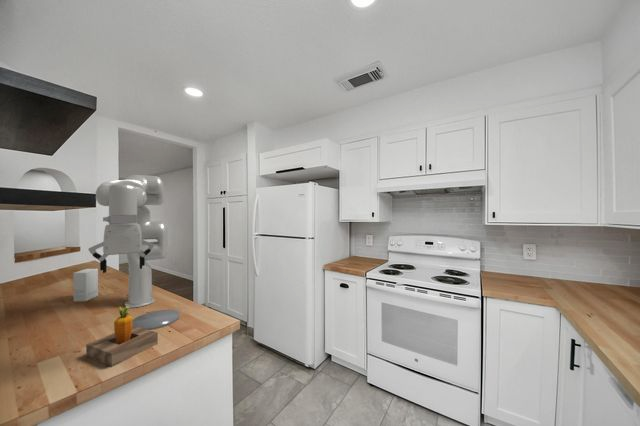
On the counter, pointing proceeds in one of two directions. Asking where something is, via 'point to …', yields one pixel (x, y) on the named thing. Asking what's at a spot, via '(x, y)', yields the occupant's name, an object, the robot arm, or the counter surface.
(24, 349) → the counter surface
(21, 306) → the counter surface
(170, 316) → the plate
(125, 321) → the carrot
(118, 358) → the pocket block
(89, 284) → the skincare box
